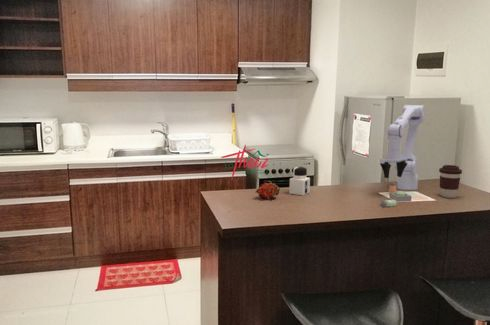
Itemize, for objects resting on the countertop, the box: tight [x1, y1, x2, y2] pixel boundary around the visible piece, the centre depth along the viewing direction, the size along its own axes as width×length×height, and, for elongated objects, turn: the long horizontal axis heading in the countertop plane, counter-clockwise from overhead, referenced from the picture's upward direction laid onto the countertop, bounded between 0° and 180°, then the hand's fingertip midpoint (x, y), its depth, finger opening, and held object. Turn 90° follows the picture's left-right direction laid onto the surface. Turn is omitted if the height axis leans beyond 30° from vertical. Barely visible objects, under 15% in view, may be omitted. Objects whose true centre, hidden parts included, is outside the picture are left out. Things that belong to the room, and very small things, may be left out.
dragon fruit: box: [255, 181, 281, 200], centre depth 203 cm, size 8×8×12 cm
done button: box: [396, 190, 406, 196], centre depth 199 cm, size 4×4×3 cm
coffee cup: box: [438, 164, 463, 199], centre depth 208 cm, size 10×10×15 cm
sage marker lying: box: [379, 199, 398, 209], centre depth 189 cm, size 6×3×3 cm, turn 99°
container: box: [288, 166, 311, 196], centre depth 213 cm, size 8×8×13 cm
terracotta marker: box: [388, 181, 398, 195], centre depth 208 cm, size 3×3×6 cm
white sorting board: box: [379, 190, 437, 203], centre depth 205 cm, size 20×18×3 cm
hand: (392, 177), depth 207 cm, fingers open, 7 cm apart
